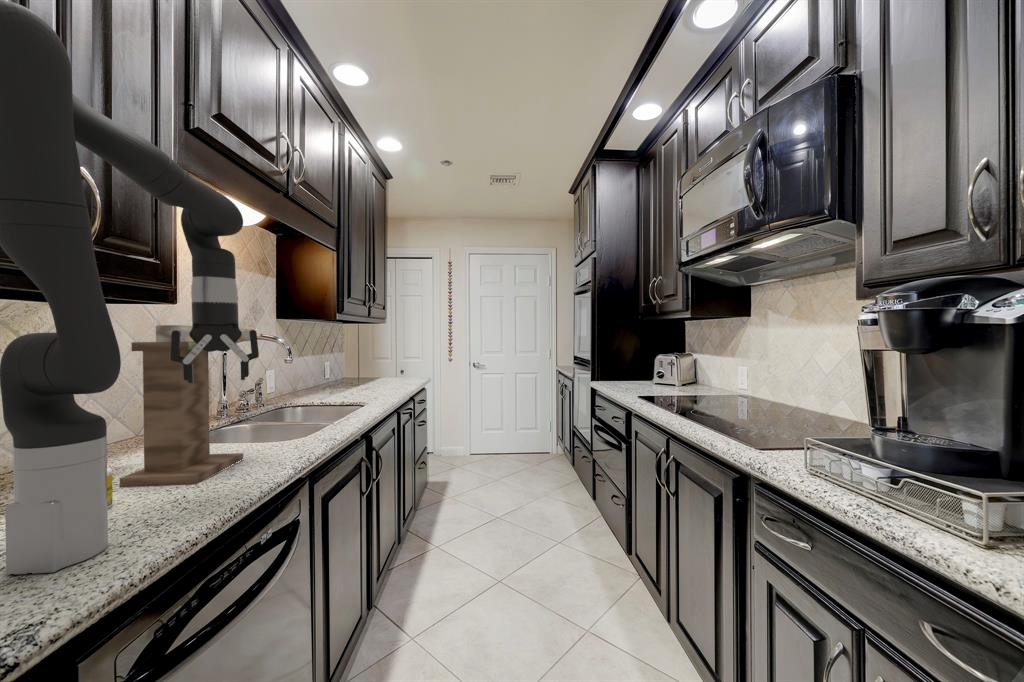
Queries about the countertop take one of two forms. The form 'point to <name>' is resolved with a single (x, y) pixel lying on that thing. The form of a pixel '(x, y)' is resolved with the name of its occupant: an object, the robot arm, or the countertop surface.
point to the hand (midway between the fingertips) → (217, 381)
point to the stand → (175, 420)
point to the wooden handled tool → (166, 330)
